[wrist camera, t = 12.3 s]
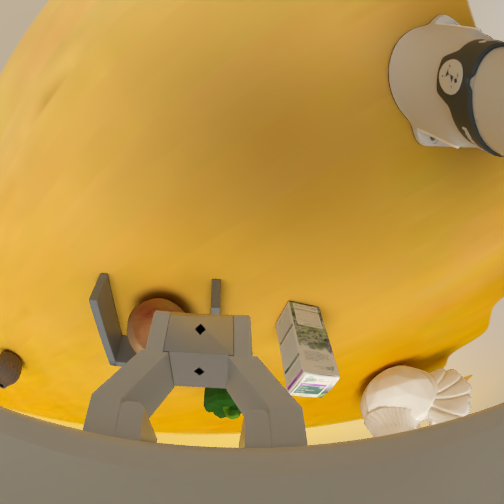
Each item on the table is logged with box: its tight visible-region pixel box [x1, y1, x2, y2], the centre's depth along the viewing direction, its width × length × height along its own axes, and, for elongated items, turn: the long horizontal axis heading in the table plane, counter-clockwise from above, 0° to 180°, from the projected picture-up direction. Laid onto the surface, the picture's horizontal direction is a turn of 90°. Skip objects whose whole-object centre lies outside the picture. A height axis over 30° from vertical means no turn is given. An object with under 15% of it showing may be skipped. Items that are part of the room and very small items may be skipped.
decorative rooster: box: [360, 365, 471, 437], centre depth 58 cm, size 25×16×25 cm, turn 112°
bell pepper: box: [204, 387, 241, 419], centre depth 58 cm, size 8×8×10 cm
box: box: [89, 273, 220, 367], centre depth 48 cm, size 18×15×6 cm
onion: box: [127, 298, 184, 353], centre depth 46 cm, size 10×10×10 cm
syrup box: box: [276, 301, 340, 398], centre depth 47 cm, size 6×6×14 cm
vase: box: [0, 351, 22, 388], centre depth 54 cm, size 7×7×9 cm
